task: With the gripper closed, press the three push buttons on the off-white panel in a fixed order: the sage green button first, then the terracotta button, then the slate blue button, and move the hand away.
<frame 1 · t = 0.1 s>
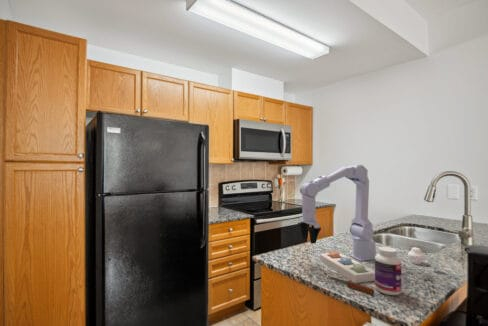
hand: (309, 240, 114), 10 cm above the counter, tool pointing down, fingers open, 7 cm apart
terracotta button: (334, 255, 115), point 3 cm above the counter, slide at 0.0 cm
green button: (359, 269, 100), point 3 cm above the counter, slide at 0.0 cm
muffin: (416, 263, 115), on the counter
kitchen knife: (350, 288, 91), on the counter
pill bottle: (388, 291, 89), on the counter
blue button: (345, 261, 108), point 3 cm above the counter, slide at 0.0 cm
button panel: (345, 269, 108), on the counter
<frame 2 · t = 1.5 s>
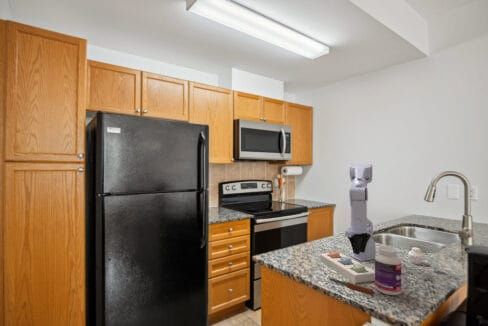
hand: (358, 252, 100), 9 cm above the counter, tool pointing down, fingers open, 3 cm apart
nothing on the counter moved.
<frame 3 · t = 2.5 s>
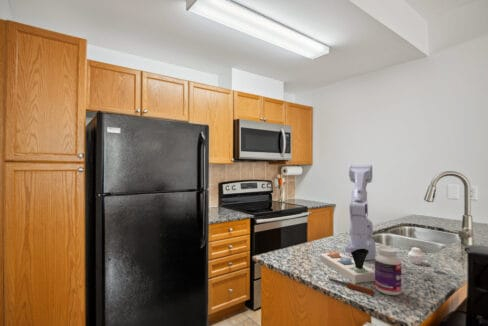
hand: (359, 268, 100), 4 cm above the counter, tool pointing down, fingers closed, pressing on green button
green button: (359, 270, 100), point 2 cm above the counter, slide at 0.6 cm, touching gripper
everything else where it was.
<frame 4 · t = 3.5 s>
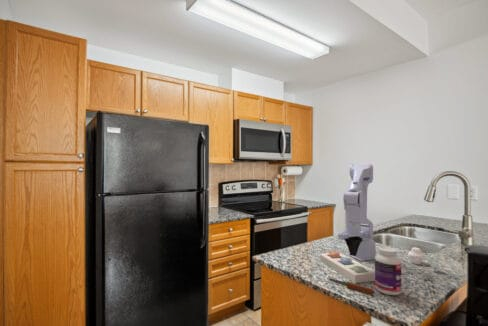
hand: (353, 255, 103), 7 cm above the counter, tool pointing down, fingers closed
green button: (359, 271, 100), point 2 cm above the counter, slide at 0.7 cm
everything else where it was.
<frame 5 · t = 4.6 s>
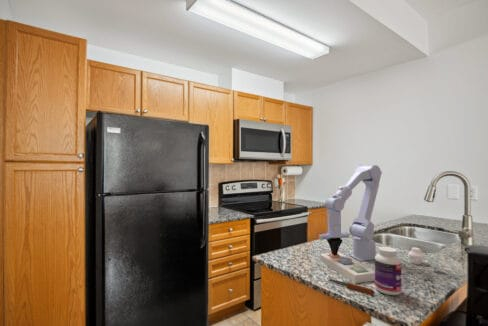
hand: (334, 254, 115), 3 cm above the counter, tool pointing down, fingers closed, pressing on terracotta button
terracotta button: (334, 257, 115), point 2 cm above the counter, slide at 0.7 cm, touching gripper
everything else where it was.
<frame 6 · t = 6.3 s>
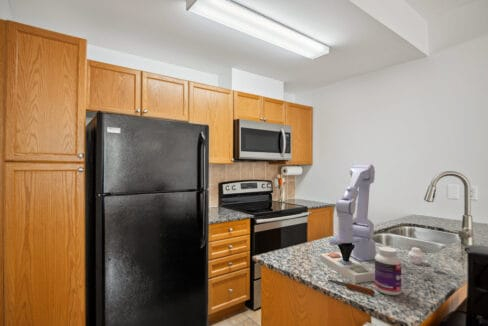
hand: (345, 261, 108), 3 cm above the counter, tool pointing down, fingers closed, pressing on blue button
terracotta button: (334, 257, 115), point 2 cm above the counter, slide at 0.7 cm
blue button: (345, 263, 108), point 2 cm above the counter, slide at 0.7 cm, touching gripper
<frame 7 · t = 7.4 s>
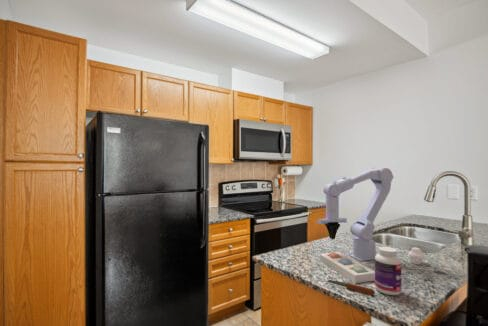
hand: (332, 238, 120), 9 cm above the counter, tool pointing down, fingers closed
blue button: (345, 263, 108), point 2 cm above the counter, slide at 0.7 cm
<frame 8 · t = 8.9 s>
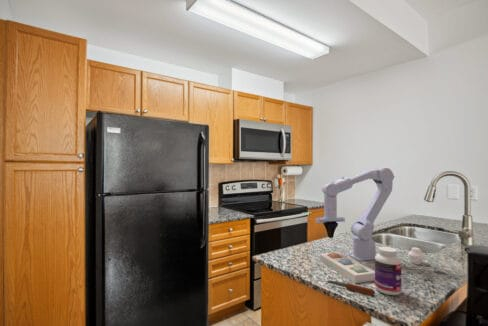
hand: (330, 237, 122), 9 cm above the counter, tool pointing down, fingers closed
at the end: green button slide at 0.7 cm; terracotta button slide at 0.7 cm; blue button slide at 0.7 cm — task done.
